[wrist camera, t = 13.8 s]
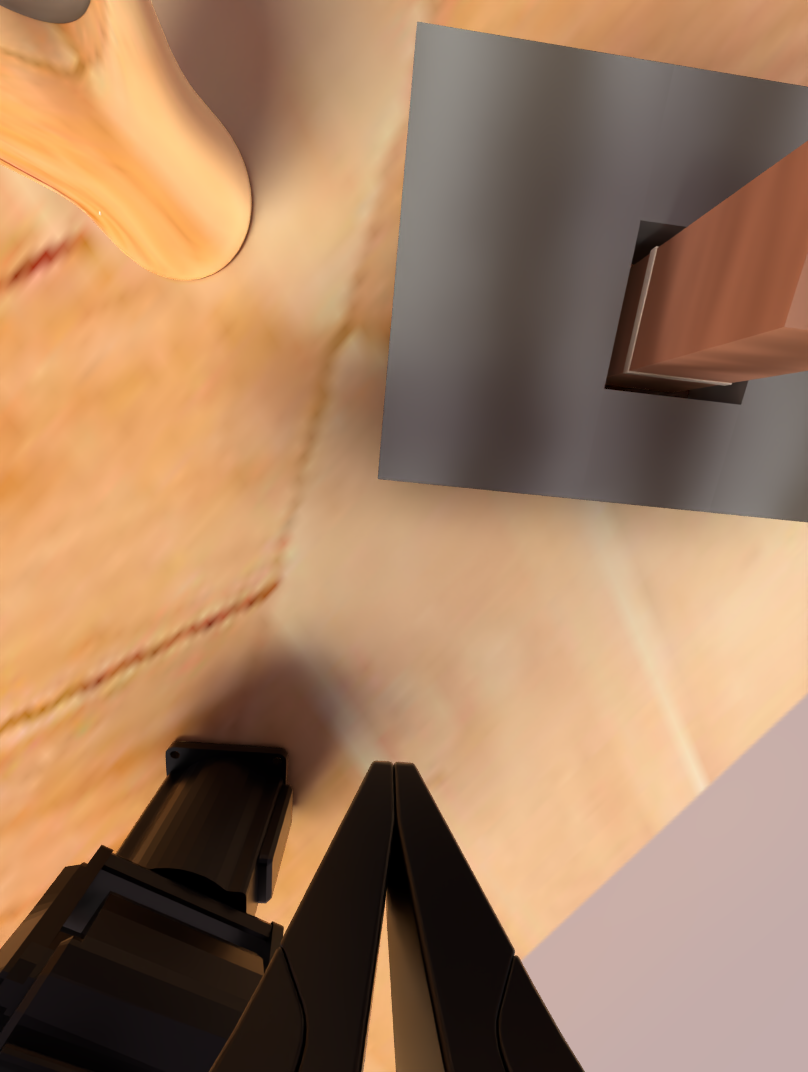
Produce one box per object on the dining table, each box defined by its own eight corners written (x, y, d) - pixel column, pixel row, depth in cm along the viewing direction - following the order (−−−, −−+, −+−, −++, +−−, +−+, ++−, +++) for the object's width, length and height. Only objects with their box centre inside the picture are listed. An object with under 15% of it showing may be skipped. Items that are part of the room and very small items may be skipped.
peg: (586, 383, 17) (780, 328, 9) (607, 281, 16) (852, 104, 8) (672, 394, 18) (947, 350, 9) (698, 294, 17) (1036, 135, 8)
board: (380, 472, 18) (377, 479, 15) (412, 104, 15) (417, 21, 12) (817, 516, 19) (892, 530, 16) (940, 186, 16) (1063, 129, 13)
